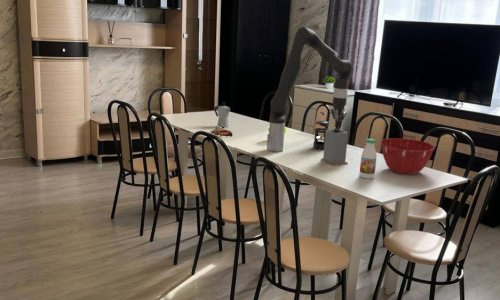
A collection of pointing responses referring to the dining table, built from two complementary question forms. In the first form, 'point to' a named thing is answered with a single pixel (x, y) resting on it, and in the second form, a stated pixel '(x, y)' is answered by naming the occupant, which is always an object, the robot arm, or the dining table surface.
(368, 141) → the milk bottle
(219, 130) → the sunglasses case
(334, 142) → the grey upright prism
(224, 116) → the coffee maker
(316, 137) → the french press
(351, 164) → the dining table surface
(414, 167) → the mixing bowl
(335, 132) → the plunger
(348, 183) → the dining table surface
